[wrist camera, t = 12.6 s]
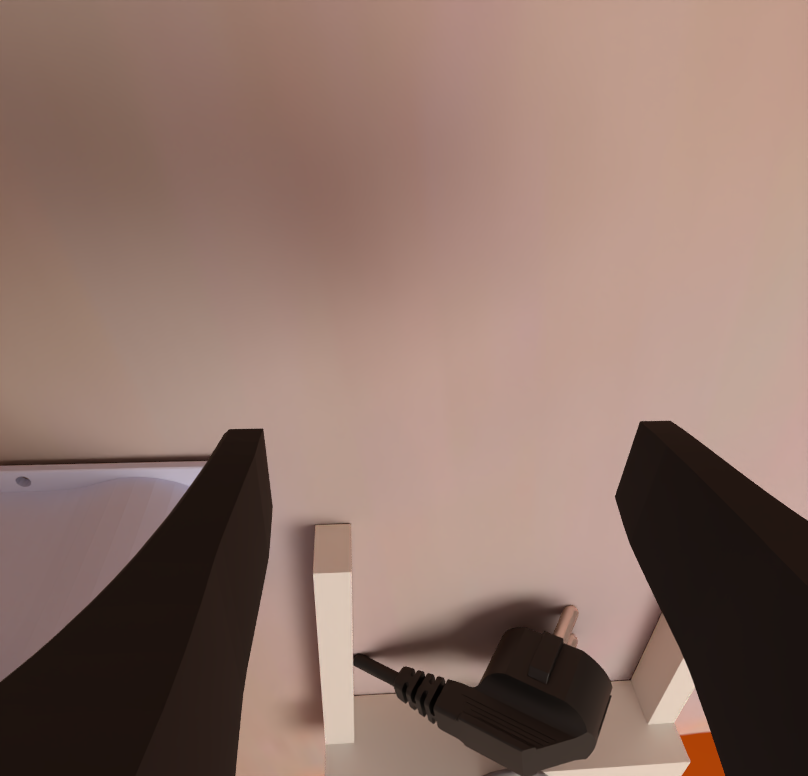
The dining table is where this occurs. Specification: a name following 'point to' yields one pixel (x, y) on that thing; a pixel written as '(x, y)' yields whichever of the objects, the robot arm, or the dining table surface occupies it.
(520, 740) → the power plug
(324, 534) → the socket dock
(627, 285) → the dining table surface
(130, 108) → the dining table surface
